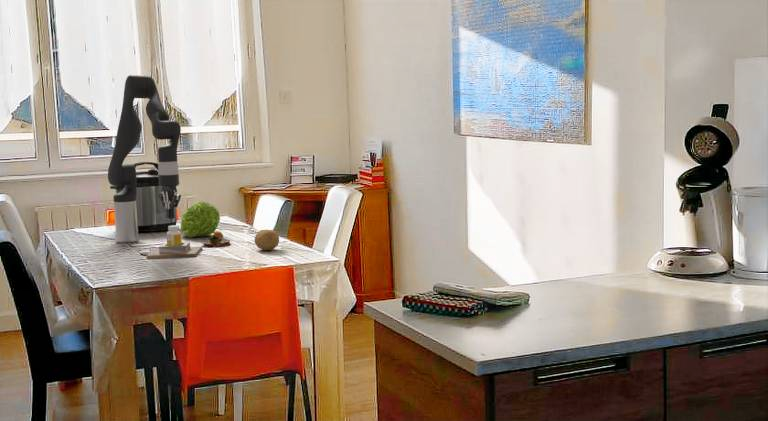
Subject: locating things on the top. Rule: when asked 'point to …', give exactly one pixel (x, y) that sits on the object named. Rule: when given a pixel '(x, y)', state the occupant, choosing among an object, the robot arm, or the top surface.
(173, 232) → the supplement bottle
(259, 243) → the potato
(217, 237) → the floral bowl
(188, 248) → the brown board with frame
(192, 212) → the lettuce
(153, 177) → the pressure cooker
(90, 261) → the top surface
